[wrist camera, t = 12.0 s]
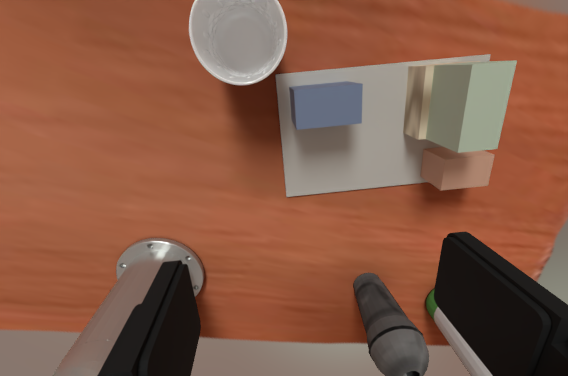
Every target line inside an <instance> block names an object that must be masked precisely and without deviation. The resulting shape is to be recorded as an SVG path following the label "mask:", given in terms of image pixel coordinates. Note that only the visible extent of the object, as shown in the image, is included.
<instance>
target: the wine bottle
mask: <svg viewBox="0 0 568 376" xmlns="http://www.w3.org/2000/svg"><path fill="white" fill-rule="evenodd" d="M434 290H435V288H434V289H433V290H432V291H431V292H430V293H429V295H428V297H427V300H426V307H427V311H428V313H429V314H430V316H431V317H432V319H433V320H434V322H435V323H436V325H437V326H438V328H439V329H440V331H441V332H442V334H443V335H444V337H445V338H446V340H447V341H448V343H449V344H450V346H451V347H452V348H453V350H454V351H455V353H456V354H457V356H458V357H459V359H460V360H461V362H462V363H463V365H464V366H465V368H466V369H467V371H468V372H469V374H470V375H471V376H493V375H492V374H491V373H490V372H489V370H488V369H487V368H486V367H485V365H484V364H483V363H482V362H481V360H480V359H479V358H478V357H477V355H476V354H475V353H474V351H473V350H472V349H471V348H470V346H469V345H468V344H467V343H466V341H465V340H464V339H463V338H462V336H461V335H460V334H459V333H458V331H457V330H456V329H455V328H454V326H453V325H452V324H451V323H450V321H449V320H448V319H447V317H446V316H445V315H444V314H443V312H442V311H441V310H440V309H439V307H438V306H437V305H436V303H435V300H434Z"/></svg>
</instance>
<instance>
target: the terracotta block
mask: <svg viewBox="0 0 568 376" xmlns="http://www.w3.org/2000/svg"><path fill="white" fill-rule="evenodd" d="M493 160H494V154H491V153H489V152H486V151H483V150H481V151H471V152H461V153H457V152H455V151H452V150H450V149H448V148H445V147H436V148H427V149H423V157H422V166H421V175H420V177H422V178H423V179H425V180H426V181H428V182H429V183H431V184H432V185H433V186H435V187H436V188H438V189H439V190H451V189H460V188H469V187H479V186H488V183H489V178H490V174H491V169H492V164H493Z"/></svg>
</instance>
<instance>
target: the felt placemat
mask: <svg viewBox="0 0 568 376" xmlns="http://www.w3.org/2000/svg"><path fill="white" fill-rule="evenodd" d="M490 55H491V54H488V55H477V56H467V57H456V58H445V59H435V60H424V61H414V62H403V63H392V64H382V65H371V66H360V67H350V68H339V69H329V70H318V71H307V72H297V73H286V74H275V75H276V86H277V97H278V108H279V119H280V130H281V141H282V152H283V163H284V174H285V185H286V196H287V197H291V196H301V195H310V194H320V193H329V192H339V191H348V190H358V189H367V188H377V187H386V186H396V185H405V184H415V183H424V182H428V181H426V180H425V179H423V178H422V177H420V175H421V166H422V157H423V149H427V148H436V147H443V146H441V145H439V144H436V143H434V142H432V141H429V140H427V139H420V140H418V139H416V138H414V137H411V136H409V135H407V134H405V133H403V127H404V115H405V103H406V91H407V78H408V67H409V66H419V65H430V64H440V63H451V62H468V61H481V62H489V60H490ZM344 81H348V82H355V83H362V84H363V91H362V123H361V124H351V125H341V126H331V127H321V128H311V129H301V130H296V128H295V126H294V124H293V122H292V119H291V105H290V92H289V87H292V86H302V85H313V84H323V83H334V82H344Z"/></svg>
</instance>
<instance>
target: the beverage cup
mask: <svg viewBox="0 0 568 376" xmlns="http://www.w3.org/2000/svg"><path fill="white" fill-rule="evenodd" d="M354 289H355V296H356V299H357V303H358V306H359V310H360V313H361V317H362V320H363V324H364V327H365V331H366V334H367V342H368V347H369V354H370V356H371V358H372V359H373V361H374V362H375V364H376V366H377V368H378V369H379V370H380V371H381V372H382V373H383V374H384V375H385V376H423V375H424V374H425V372H426V370H427V367H428V362H429V354H428V349H427V346H426V343H425V340H424V337H423V334H422V333H421V332H420V331H419V330H418V329H417V328H416V326H415V325H414V324H413V323H412V322H411V321H410V320H409V319H408V318H407V316H406V315H405V313H404V312H403V310H402V309H401V308H400V306H399V305H398V303H397V302H396V300H395V299H394V298H393V296H392V295H391V293H390V292H389V290H388V289H387V288H386V286H385V285H384V283H383V282H382V281H381V280H380V279H379V277H378V276H377V275H375V274H373V273H364V274H362V275H360V276H359V277H357V278H356V280H355V281H354Z"/></svg>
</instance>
